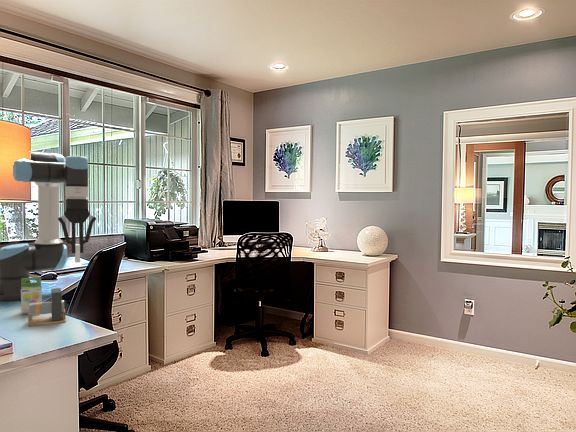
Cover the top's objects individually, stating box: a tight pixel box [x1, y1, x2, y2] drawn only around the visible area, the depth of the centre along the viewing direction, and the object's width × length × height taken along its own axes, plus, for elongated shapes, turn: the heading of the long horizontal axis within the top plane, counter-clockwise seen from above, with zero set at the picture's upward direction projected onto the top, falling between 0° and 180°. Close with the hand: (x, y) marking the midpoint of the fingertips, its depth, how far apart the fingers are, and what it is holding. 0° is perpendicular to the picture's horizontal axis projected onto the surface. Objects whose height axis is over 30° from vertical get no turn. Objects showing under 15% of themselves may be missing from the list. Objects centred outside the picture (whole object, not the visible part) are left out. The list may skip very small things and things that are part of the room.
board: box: [27, 308, 67, 327], centre depth 157 cm, size 8×12×3 cm
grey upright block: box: [50, 287, 63, 321], centre depth 158 cm, size 8×3×10 cm, turn 30°
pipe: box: [28, 299, 66, 317], centre depth 157 cm, size 4×11×4 cm, turn 120°
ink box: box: [20, 276, 43, 315], centre depth 168 cm, size 7×4×13 cm, turn 120°
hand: (77, 261), depth 161 cm, fingers closed
